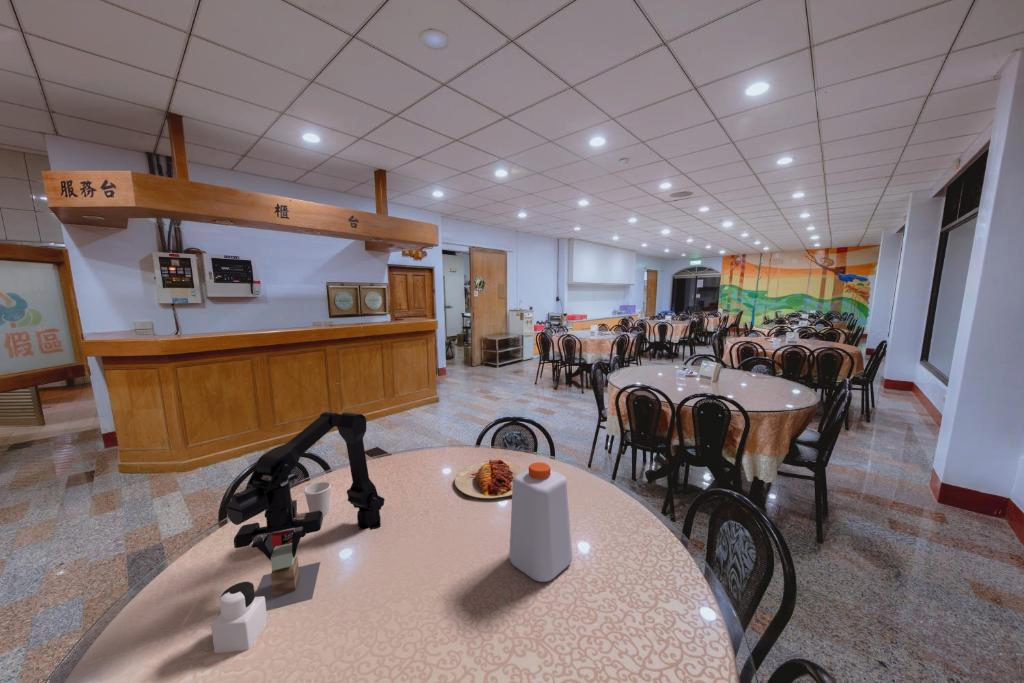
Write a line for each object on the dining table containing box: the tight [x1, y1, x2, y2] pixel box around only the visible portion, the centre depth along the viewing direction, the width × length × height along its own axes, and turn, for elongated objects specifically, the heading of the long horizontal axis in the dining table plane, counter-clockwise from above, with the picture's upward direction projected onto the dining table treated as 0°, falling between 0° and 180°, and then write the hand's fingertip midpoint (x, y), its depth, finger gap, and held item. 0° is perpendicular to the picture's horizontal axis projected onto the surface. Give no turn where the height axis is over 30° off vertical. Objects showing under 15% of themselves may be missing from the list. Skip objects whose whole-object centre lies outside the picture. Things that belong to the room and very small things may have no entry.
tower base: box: [272, 566, 300, 596], centre depth 96 cm, size 5×5×3 cm
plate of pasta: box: [454, 459, 526, 499], centre depth 151 cm, size 31×35×7 cm
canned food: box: [271, 512, 298, 549], centre depth 114 cm, size 8×8×11 cm
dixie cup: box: [303, 481, 332, 518], centre depth 129 cm, size 8×8×10 cm
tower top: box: [270, 556, 299, 585], centre depth 95 cm, size 5×5×3 cm
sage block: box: [270, 543, 297, 572], centre depth 95 cm, size 4×4×4 cm
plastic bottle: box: [508, 462, 573, 583], centre depth 103 cm, size 15×15×28 cm
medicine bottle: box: [210, 581, 268, 654], centre depth 81 cm, size 7×7×12 cm
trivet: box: [255, 561, 321, 612], centre depth 96 cm, size 14×14×1 cm
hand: (284, 558), depth 95 cm, fingers closed on sage block, 4 cm apart
